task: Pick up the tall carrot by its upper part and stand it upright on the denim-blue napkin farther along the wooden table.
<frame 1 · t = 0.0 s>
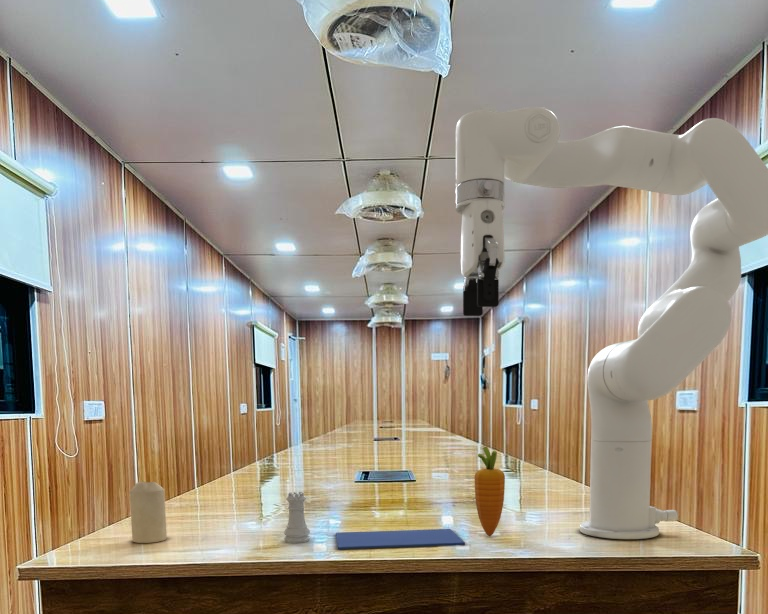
hand: (479, 311, 105), 37 cm above the table, tool pointing down, fingers open, 9 cm apart
candle: (149, 541, 111), on the table
carrot: (489, 537, 110), on the table
rook chess piece: (297, 541, 109), on the table
napkin: (397, 539, 108), on the table
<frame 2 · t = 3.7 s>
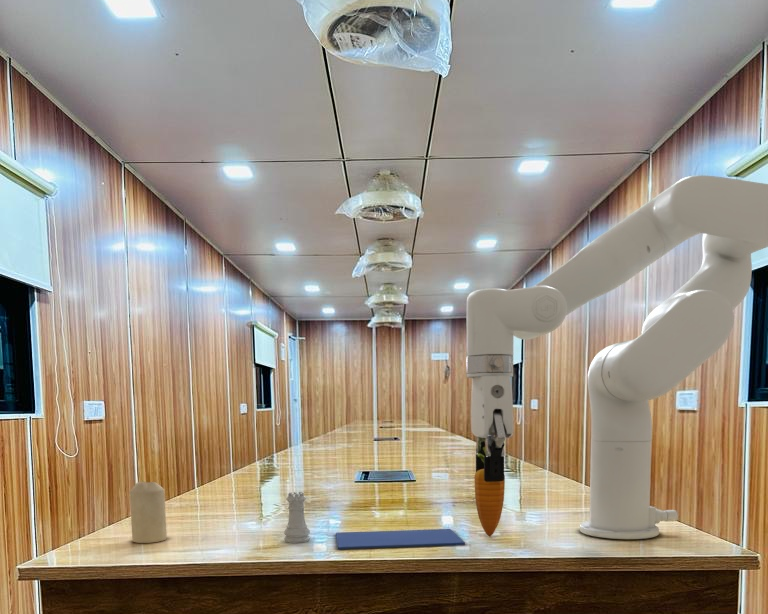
hand: (489, 478, 109), 10 cm above the table, tool pointing down, fingers closed on carrot, 4 cm apart
carrot: (489, 537, 110), on the table, touching gripper
everything else where it was.
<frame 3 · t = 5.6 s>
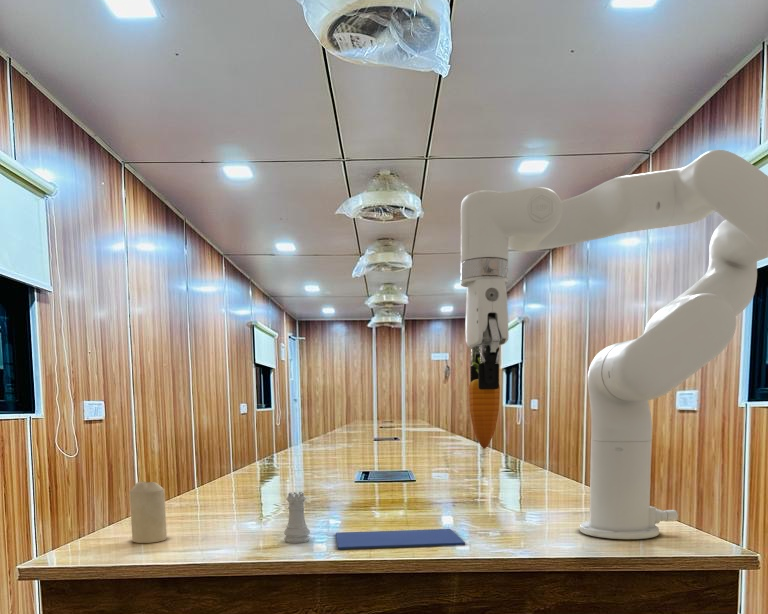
hand: (484, 388, 107), 25 cm above the table, tool pointing down, fingers closed on carrot, 4 cm apart
carrot: (484, 449, 108), point 15 cm above the table, touching gripper
everything else where it was.
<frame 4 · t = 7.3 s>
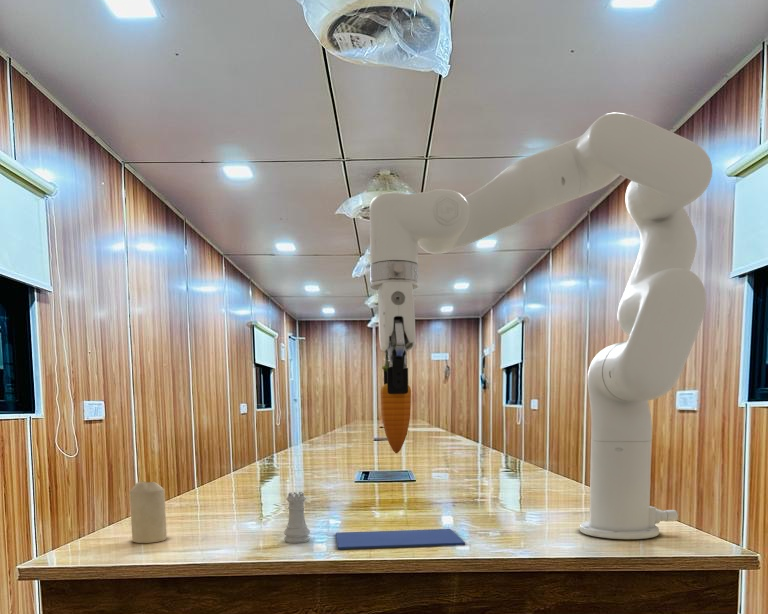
hand: (395, 392, 106), 24 cm above the table, tool pointing down, fingers closed on carrot, 4 cm apart
carrot: (396, 454, 107), point 14 cm above the table, touching gripper
everything else where it was.
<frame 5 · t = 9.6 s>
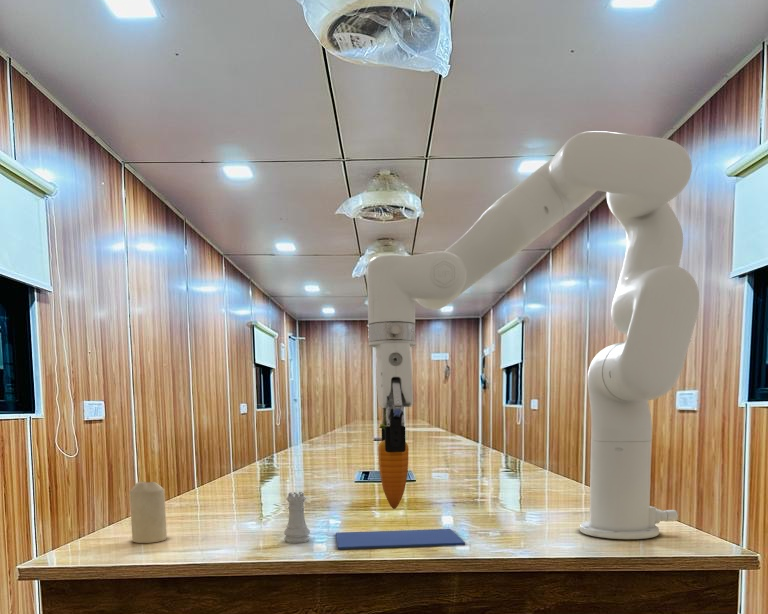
hand: (393, 449, 107), 15 cm above the table, tool pointing down, fingers closed on carrot, 4 cm apart
carrot: (394, 510, 108), point 5 cm above the table, touching gripper
everything else where it was.
when the fingers open (10 cm above the table, at t = 11.4 s): carrot stays where it is, resting on napkin.
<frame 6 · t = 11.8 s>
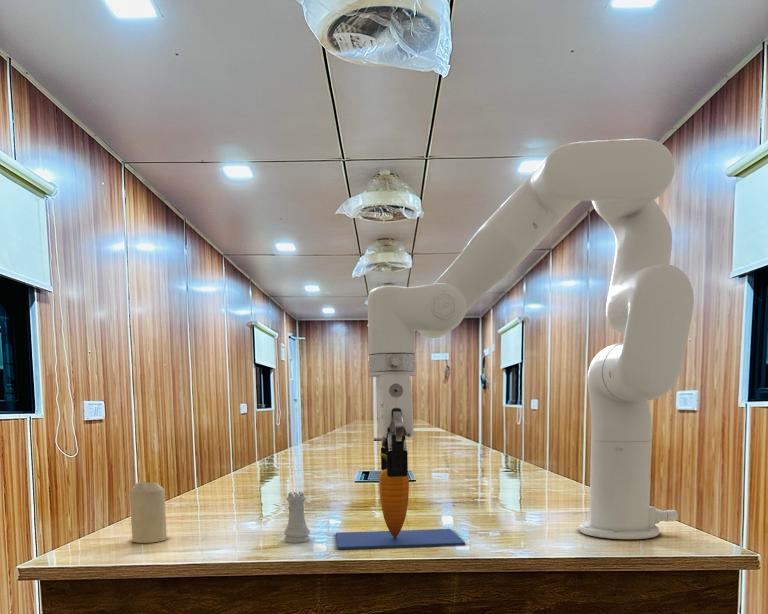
hand: (393, 473, 107), 11 cm above the table, tool pointing down, fingers open, 9 cm apart
carrot: (394, 538, 108), resting on napkin
everything else where it was.
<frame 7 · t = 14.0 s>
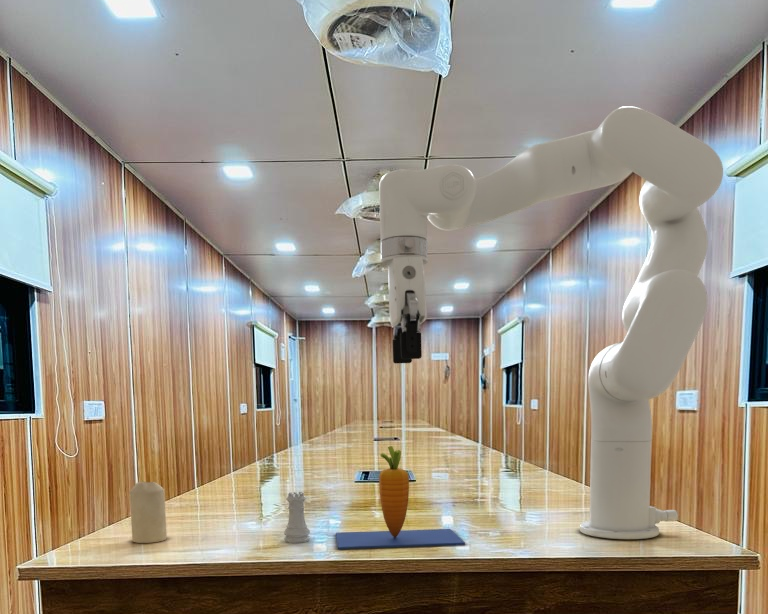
hand: (406, 361, 108), 29 cm above the table, tool pointing down, fingers open, 9 cm apart
nothing on the table moved.
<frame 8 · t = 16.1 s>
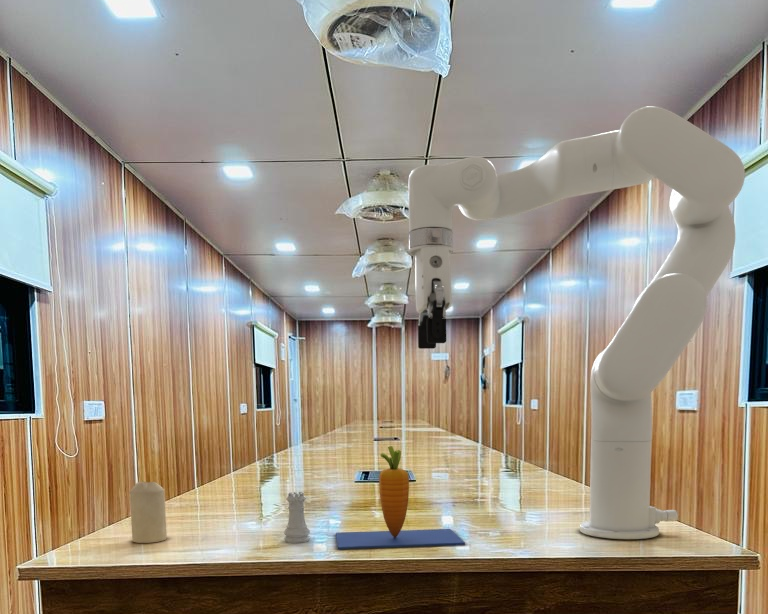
hand: (431, 345, 114), 32 cm above the table, tool pointing down, fingers open, 9 cm apart
nothing on the table moved.
at the end: carrot inside the target area (0.2 cm from its centre), on the table; carrot tilted 0°; the gripper is holding nothing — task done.
